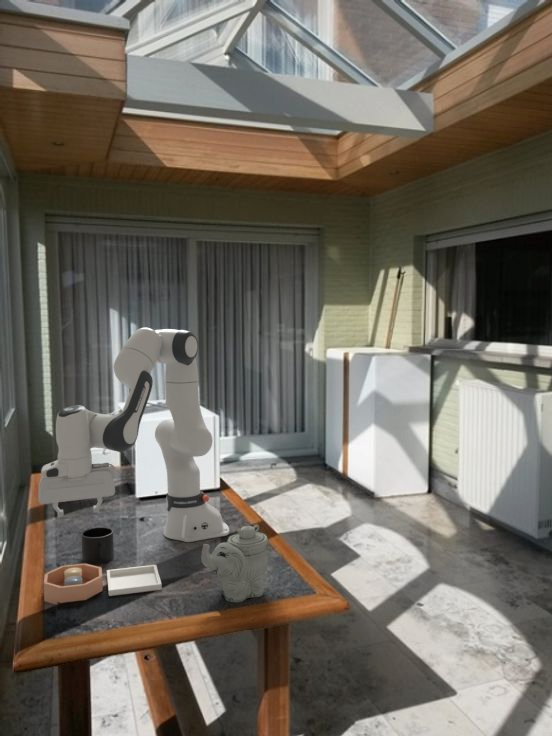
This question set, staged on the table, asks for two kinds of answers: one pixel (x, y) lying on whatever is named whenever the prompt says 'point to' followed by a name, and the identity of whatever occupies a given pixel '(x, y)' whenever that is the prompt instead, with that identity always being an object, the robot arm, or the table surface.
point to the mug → (97, 545)
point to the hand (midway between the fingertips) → (78, 514)
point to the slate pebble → (73, 580)
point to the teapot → (239, 563)
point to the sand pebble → (73, 572)
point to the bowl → (61, 593)
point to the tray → (133, 580)
